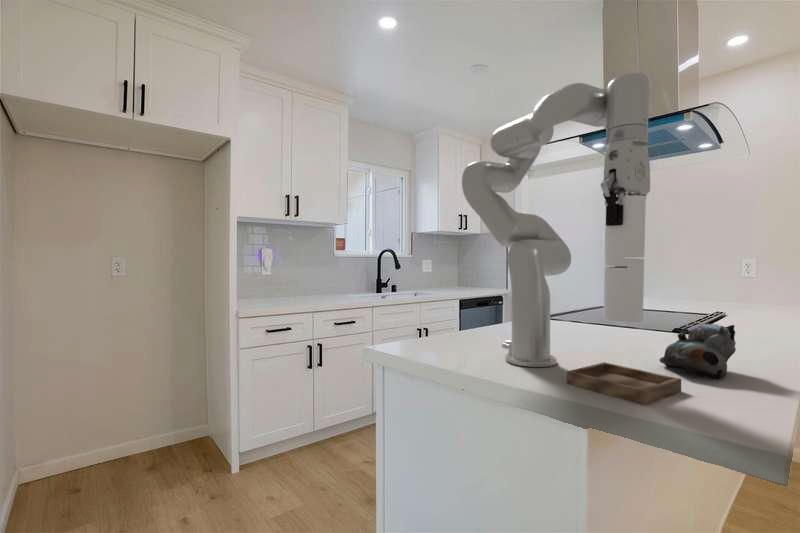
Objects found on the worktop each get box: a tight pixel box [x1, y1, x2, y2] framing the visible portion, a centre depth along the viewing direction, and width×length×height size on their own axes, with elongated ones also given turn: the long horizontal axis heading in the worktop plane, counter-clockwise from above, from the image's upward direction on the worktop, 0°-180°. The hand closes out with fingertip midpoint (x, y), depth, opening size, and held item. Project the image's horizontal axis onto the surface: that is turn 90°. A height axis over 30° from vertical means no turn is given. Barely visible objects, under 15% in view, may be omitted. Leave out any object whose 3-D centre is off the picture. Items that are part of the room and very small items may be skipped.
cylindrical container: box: [603, 195, 647, 323], centre depth 84 cm, size 7×7×25 cm
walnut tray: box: [566, 361, 682, 406], centre depth 84 cm, size 16×14×2 cm
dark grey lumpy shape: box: [659, 323, 737, 380], centre depth 95 cm, size 15×12×14 cm
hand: (624, 225), depth 84 cm, fingers closed on cylindrical container, 7 cm apart
